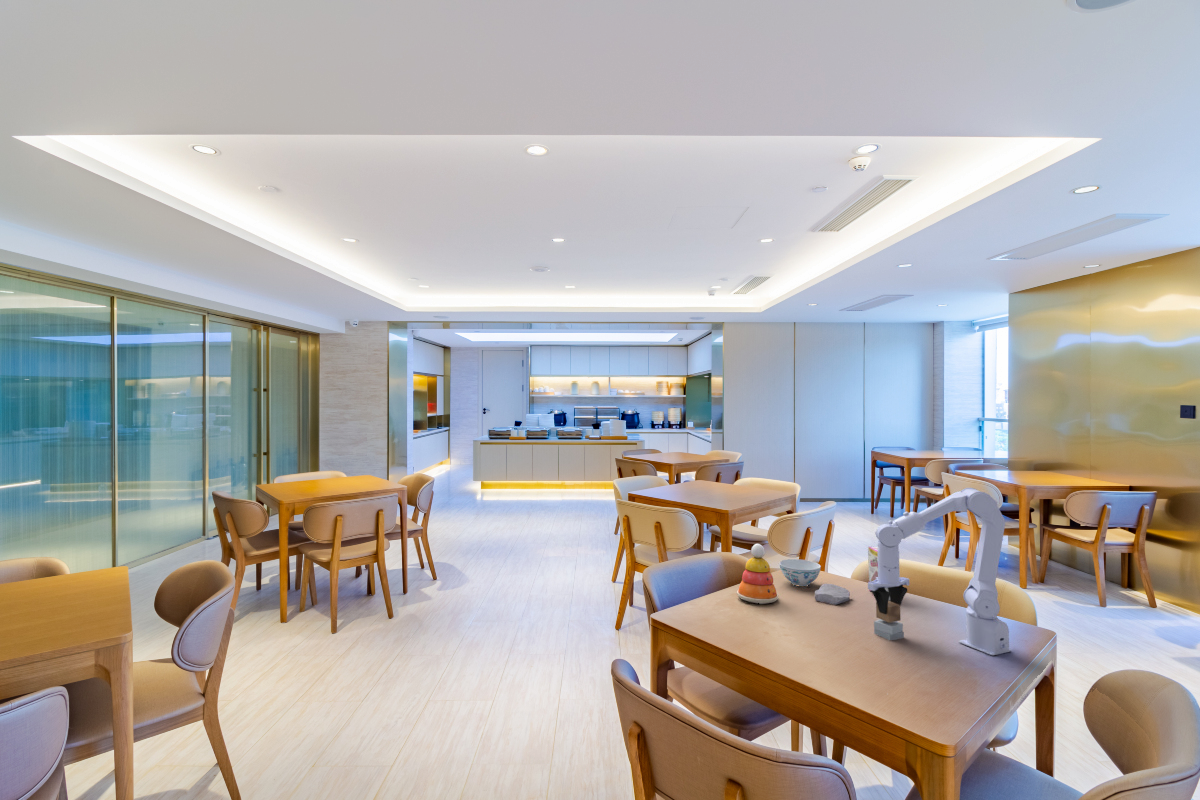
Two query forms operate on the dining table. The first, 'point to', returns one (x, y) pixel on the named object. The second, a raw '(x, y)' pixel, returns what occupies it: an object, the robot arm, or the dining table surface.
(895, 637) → the tower base
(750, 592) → the stacking toy
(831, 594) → the stone block
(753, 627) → the dining table surface
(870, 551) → the candy bar box
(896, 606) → the walnut cube
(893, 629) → the tower top
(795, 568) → the chinaware
